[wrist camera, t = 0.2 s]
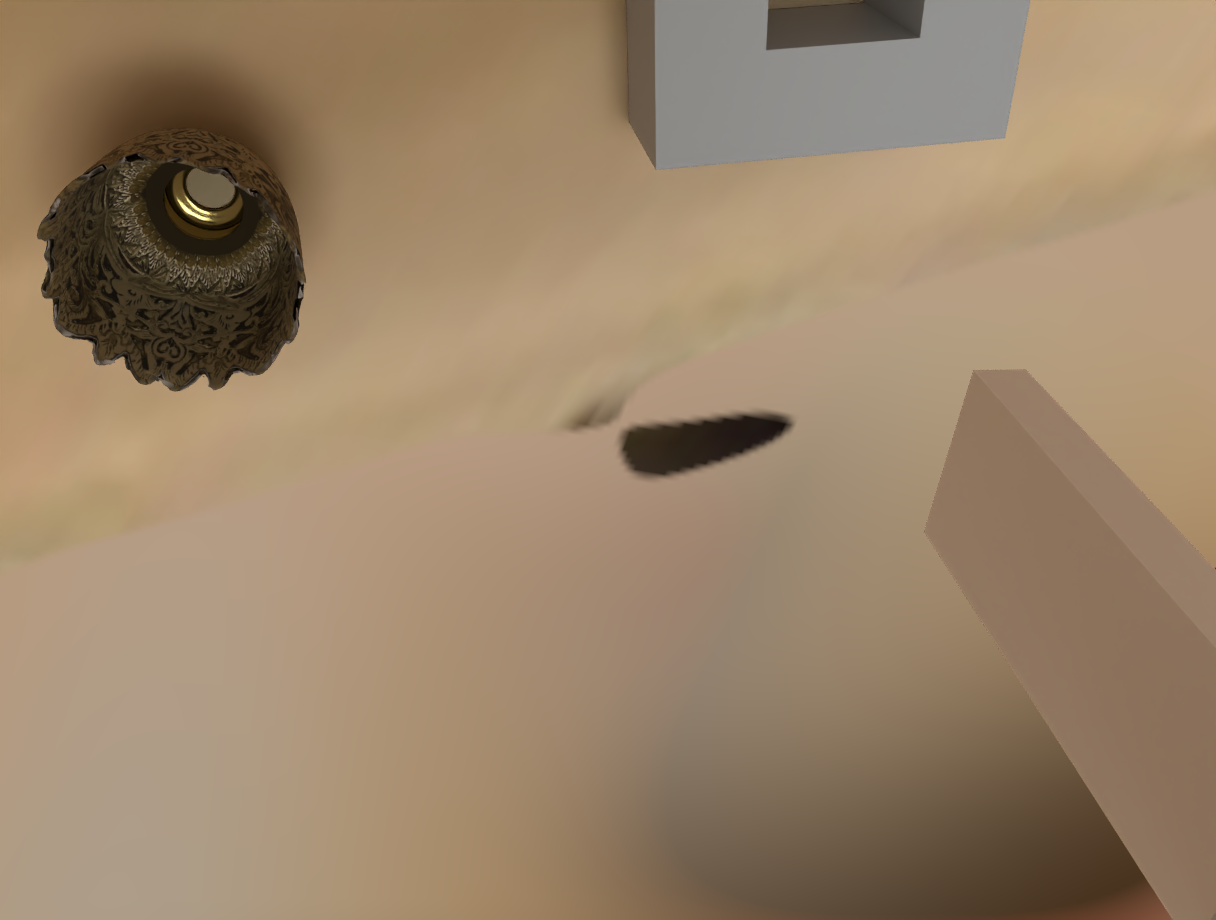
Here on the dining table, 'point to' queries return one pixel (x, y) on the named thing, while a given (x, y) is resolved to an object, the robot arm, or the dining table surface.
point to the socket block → (817, 76)
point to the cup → (175, 261)
